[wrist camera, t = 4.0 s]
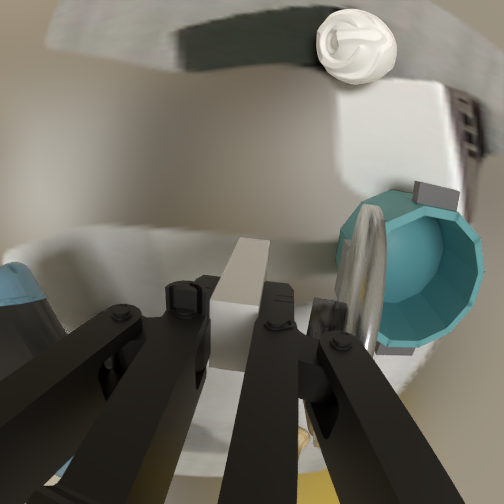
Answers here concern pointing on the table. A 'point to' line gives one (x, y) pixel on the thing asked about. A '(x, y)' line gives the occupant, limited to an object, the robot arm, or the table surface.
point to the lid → (357, 286)
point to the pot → (421, 266)
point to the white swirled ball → (356, 46)
